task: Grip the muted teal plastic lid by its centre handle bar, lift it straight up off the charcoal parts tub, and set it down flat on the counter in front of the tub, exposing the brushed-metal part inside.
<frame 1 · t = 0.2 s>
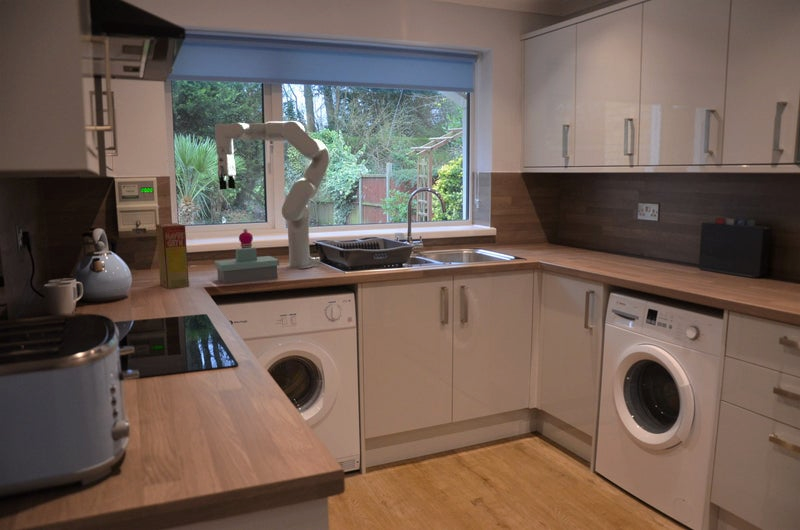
hand: (227, 188, 297), 37 cm above the worktop, tool pointing down, fingers open, 9 cm apart
food packaging: (174, 285, 263), on the worktop
lid: (246, 262, 267), point 8 cm above the worktop, touching tub
metal part: (262, 277, 271), point 1 cm above the worktop, touching tub
pepper mill: (248, 273, 287), on the worktop
tub: (248, 281, 268), on the worktop
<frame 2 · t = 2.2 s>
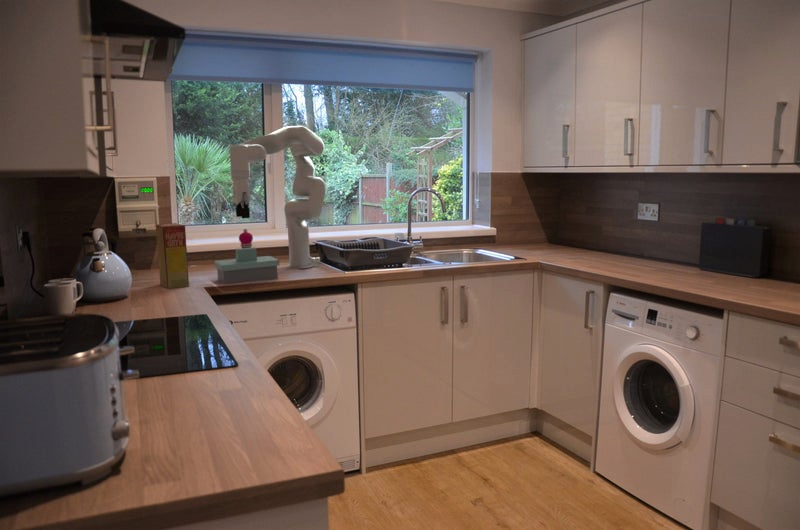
hand: (242, 217, 264), 27 cm above the worktop, tool pointing down, fingers open, 9 cm apart
nothing on the worktop moved.
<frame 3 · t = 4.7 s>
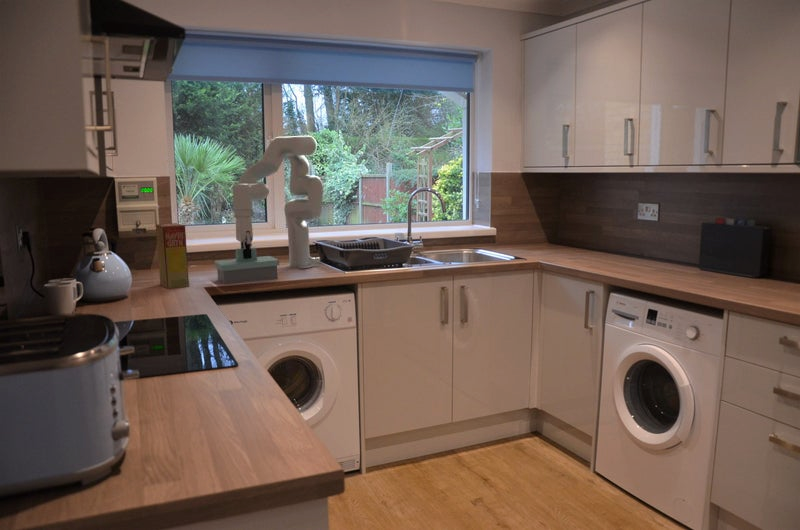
hand: (246, 257, 267), 10 cm above the worktop, tool pointing down, fingers closed on lid, 3 cm apart
lid: (246, 262, 267), point 8 cm above the worktop, touching gripper
everything else where it was.
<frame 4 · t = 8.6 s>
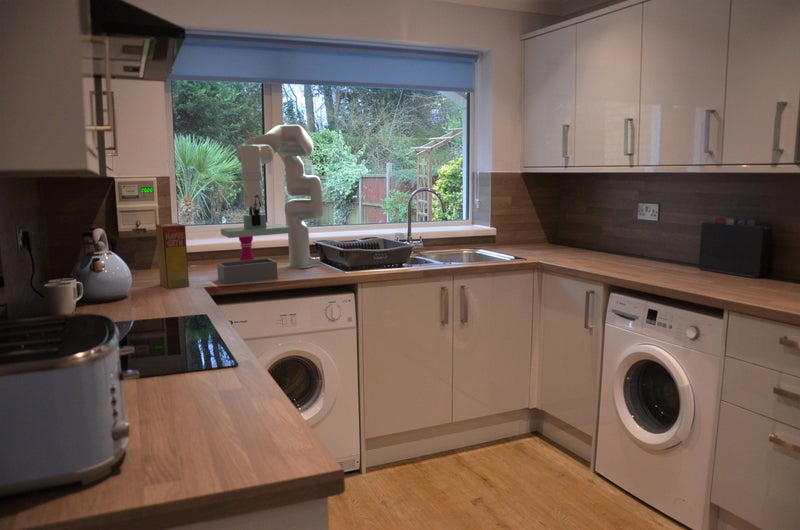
hand: (255, 224, 249), 25 cm above the worktop, tool pointing down, fingers closed on lid, 3 cm apart
lid: (255, 229, 250), point 23 cm above the worktop, touching gripper
everything else where it was.
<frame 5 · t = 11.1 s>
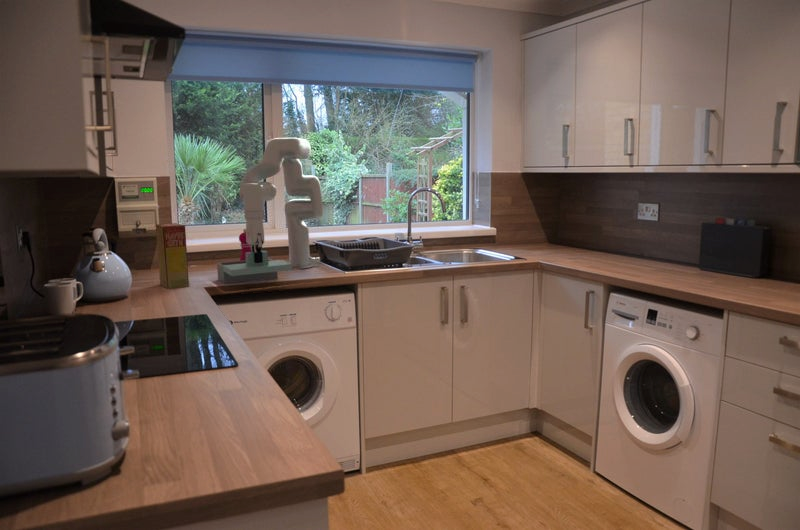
hand: (257, 261, 251), 11 cm above the worktop, tool pointing down, fingers closed on lid, 3 cm apart
lid: (257, 266, 252), point 9 cm above the worktop, touching gripper
everything else where it was.
when the fingers open (5 cm above the worktop, at t = 12.9 s): lid drops 2 cm, point 1 cm above the worktop.
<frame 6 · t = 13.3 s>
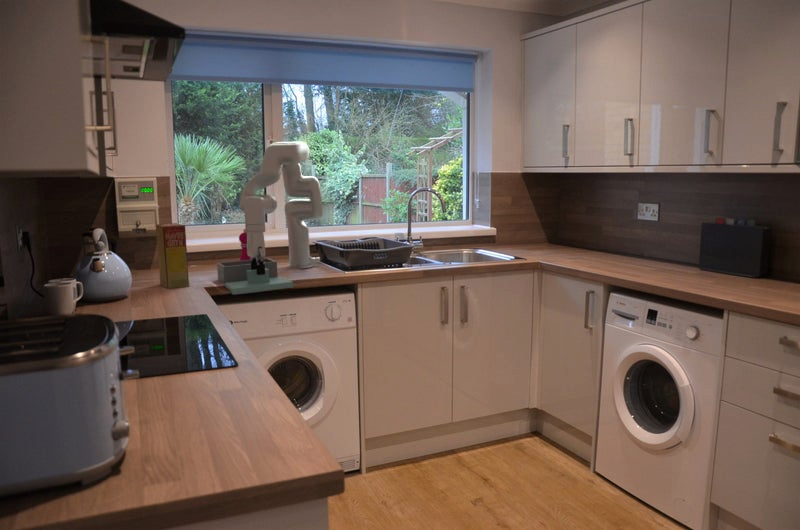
hand: (258, 272, 252), 6 cm above the worktop, tool pointing down, fingers open, 7 cm apart
lid: (258, 284, 253), point 1 cm above the worktop
everything else where it was.
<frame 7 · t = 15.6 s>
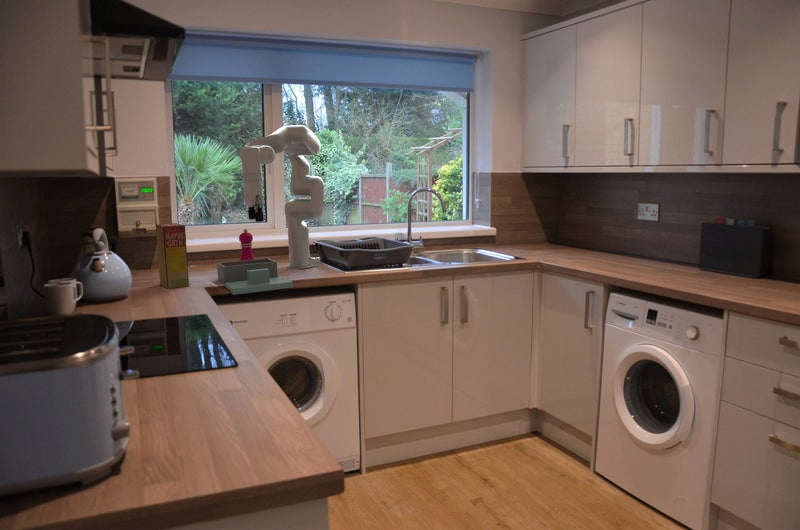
hand: (256, 220, 260), 26 cm above the worktop, tool pointing down, fingers open, 9 cm apart
nothing on the worktop moved.
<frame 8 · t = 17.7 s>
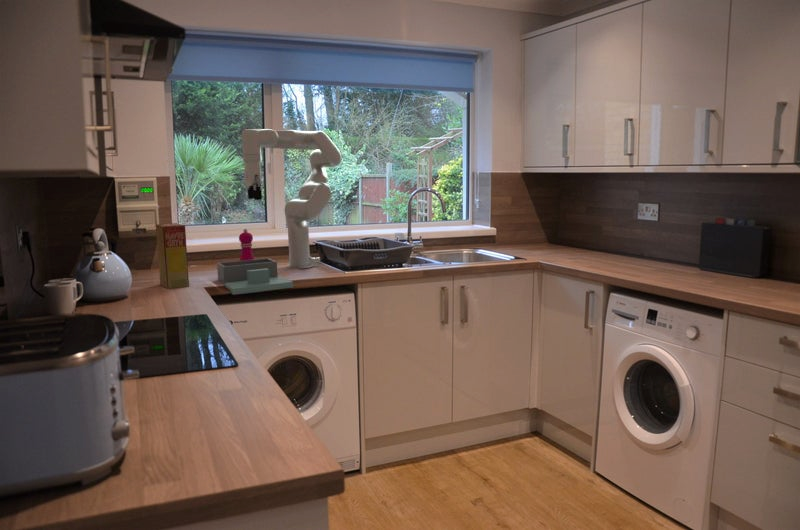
hand: (254, 199, 276), 33 cm above the worktop, tool pointing down, fingers open, 9 cm apart
nothing on the worktop moved.
at the end: lid inside the target area on the worktop beside the tub (0.1 cm from its centre), point 1.5 cm above the worktop; lid tilted 0°; the gripper is holding nothing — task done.
